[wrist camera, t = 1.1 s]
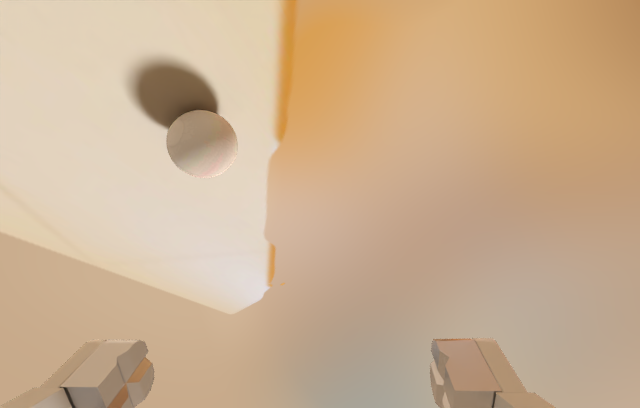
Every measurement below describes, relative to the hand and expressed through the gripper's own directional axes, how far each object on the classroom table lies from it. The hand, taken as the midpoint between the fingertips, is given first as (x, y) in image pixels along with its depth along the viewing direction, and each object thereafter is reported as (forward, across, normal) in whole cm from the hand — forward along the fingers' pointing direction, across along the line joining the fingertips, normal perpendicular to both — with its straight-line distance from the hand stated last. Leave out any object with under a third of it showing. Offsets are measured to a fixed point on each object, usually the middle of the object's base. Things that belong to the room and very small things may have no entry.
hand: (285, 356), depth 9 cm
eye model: (+44, -21, +4) cm, 49 cm away
